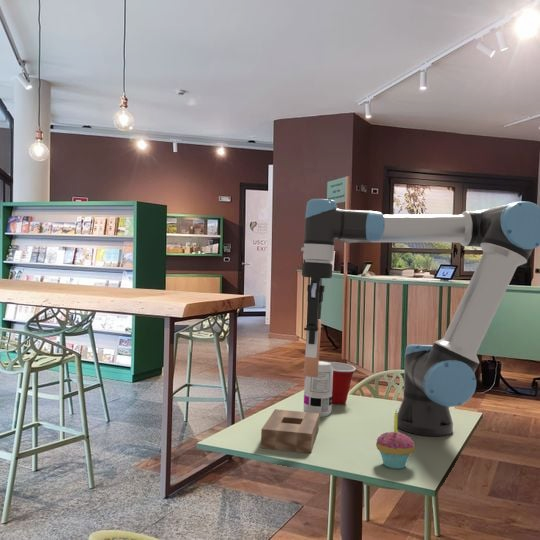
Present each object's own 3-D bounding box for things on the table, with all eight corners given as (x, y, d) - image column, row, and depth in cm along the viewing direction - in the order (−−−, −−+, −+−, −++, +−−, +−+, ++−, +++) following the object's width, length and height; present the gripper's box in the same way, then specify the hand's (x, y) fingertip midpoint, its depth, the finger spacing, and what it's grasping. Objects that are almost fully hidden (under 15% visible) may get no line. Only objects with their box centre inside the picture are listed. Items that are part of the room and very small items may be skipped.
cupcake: (373, 456, 126) (375, 405, 125) (411, 459, 125) (413, 407, 124) (377, 470, 117) (379, 415, 117) (417, 473, 116) (419, 418, 116)
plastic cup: (341, 408, 166) (342, 369, 166) (313, 401, 174) (315, 364, 174) (361, 403, 174) (362, 365, 174) (334, 396, 182) (335, 360, 181)
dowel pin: (318, 374, 136) (321, 319, 136) (317, 377, 133) (320, 320, 133) (304, 373, 137) (307, 318, 137) (302, 376, 134) (306, 319, 133)
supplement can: (297, 413, 160) (299, 362, 159) (314, 408, 166) (316, 359, 166) (320, 419, 154) (322, 366, 154) (336, 413, 161) (338, 363, 160)
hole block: (318, 430, 144) (319, 413, 144) (311, 453, 126) (311, 433, 126) (274, 425, 146) (274, 409, 146) (260, 447, 129) (261, 428, 128)
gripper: (306, 261, 143) (300, 349, 144) (298, 260, 127) (292, 359, 128) (334, 263, 142) (329, 352, 142) (330, 262, 126) (324, 362, 126)
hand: (311, 355), depth 135 cm, fingers closed on dowel pin, 3 cm apart
